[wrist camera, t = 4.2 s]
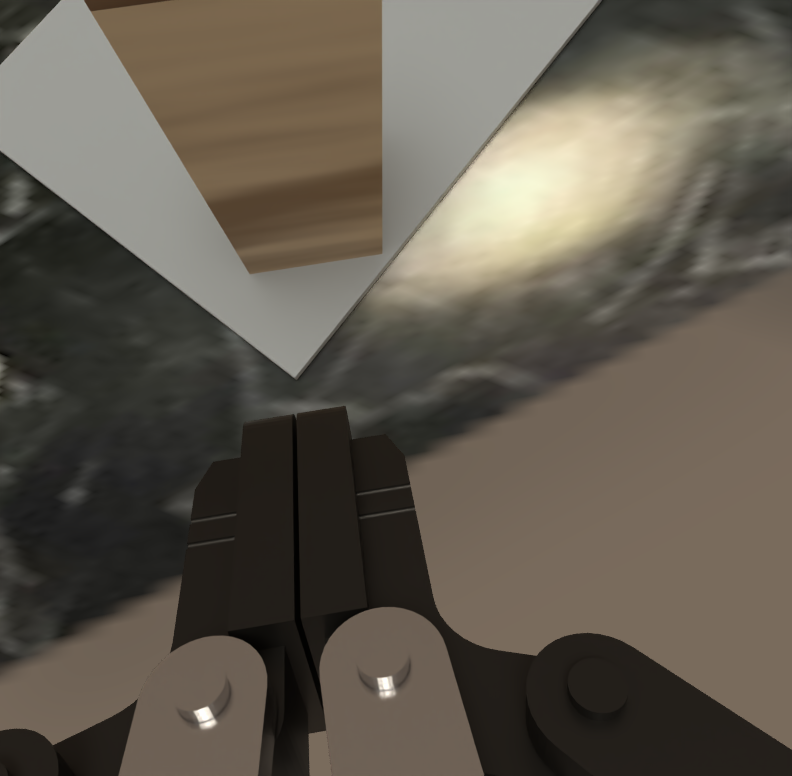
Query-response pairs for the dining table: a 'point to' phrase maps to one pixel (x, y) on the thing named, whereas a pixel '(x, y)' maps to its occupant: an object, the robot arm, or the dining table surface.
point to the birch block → (267, 116)
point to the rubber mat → (185, 206)
